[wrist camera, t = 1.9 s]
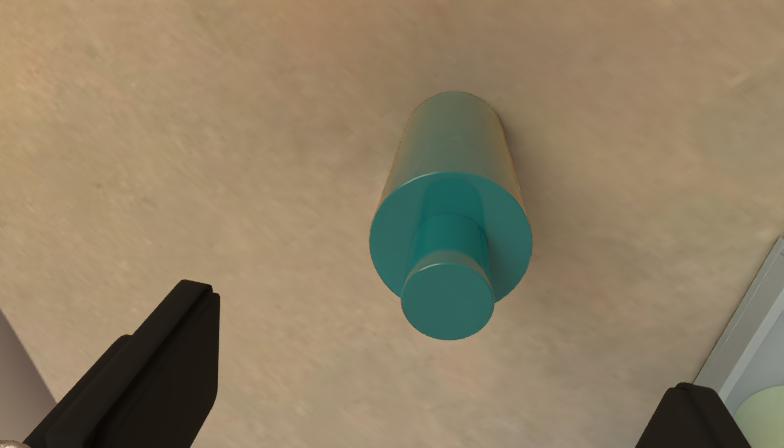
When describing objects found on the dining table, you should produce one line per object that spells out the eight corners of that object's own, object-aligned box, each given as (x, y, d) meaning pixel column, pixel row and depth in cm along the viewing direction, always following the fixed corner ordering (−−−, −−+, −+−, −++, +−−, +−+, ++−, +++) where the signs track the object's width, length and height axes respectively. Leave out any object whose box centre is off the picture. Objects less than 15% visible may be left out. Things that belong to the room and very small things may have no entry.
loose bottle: (413, 82, 25) (366, 195, 12) (516, 102, 25) (575, 239, 12) (395, 178, 27) (339, 357, 14) (489, 197, 27) (516, 395, 14)
